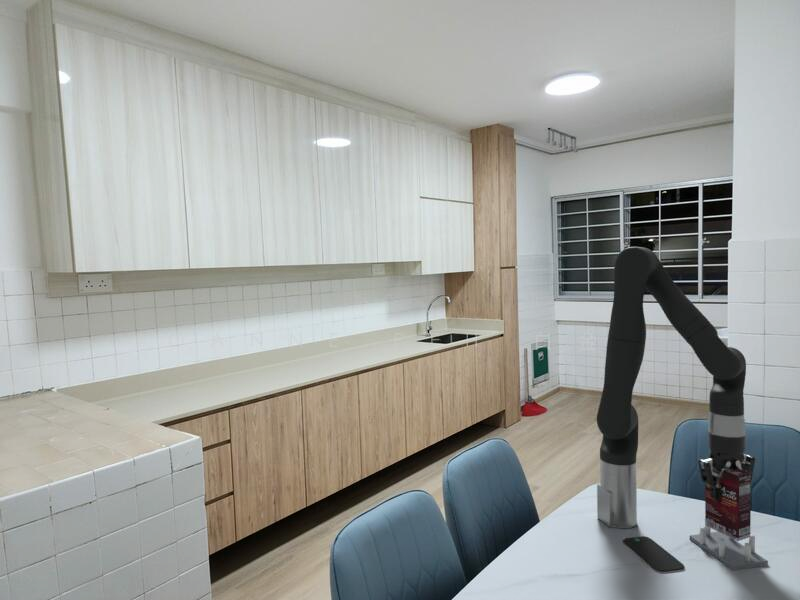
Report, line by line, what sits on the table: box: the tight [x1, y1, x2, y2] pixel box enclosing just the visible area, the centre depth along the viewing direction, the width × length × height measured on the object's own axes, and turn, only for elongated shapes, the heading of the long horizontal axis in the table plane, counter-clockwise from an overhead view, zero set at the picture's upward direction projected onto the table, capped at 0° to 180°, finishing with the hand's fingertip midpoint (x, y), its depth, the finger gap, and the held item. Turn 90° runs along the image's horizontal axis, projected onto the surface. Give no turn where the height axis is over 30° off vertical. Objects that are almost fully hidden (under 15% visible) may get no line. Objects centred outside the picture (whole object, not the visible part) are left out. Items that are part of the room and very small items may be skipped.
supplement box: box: [704, 465, 752, 542], centre depth 126 cm, size 9×5×16 cm, turn 22°
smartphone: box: [622, 535, 686, 574], centre depth 126 cm, size 8×1×15 cm
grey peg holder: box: [689, 525, 769, 571], centre depth 126 cm, size 9×14×5 cm
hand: (726, 499), depth 126 cm, fingers closed on supplement box, 5 cm apart
